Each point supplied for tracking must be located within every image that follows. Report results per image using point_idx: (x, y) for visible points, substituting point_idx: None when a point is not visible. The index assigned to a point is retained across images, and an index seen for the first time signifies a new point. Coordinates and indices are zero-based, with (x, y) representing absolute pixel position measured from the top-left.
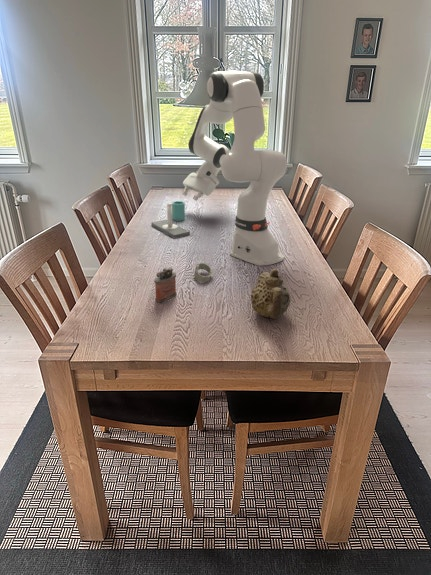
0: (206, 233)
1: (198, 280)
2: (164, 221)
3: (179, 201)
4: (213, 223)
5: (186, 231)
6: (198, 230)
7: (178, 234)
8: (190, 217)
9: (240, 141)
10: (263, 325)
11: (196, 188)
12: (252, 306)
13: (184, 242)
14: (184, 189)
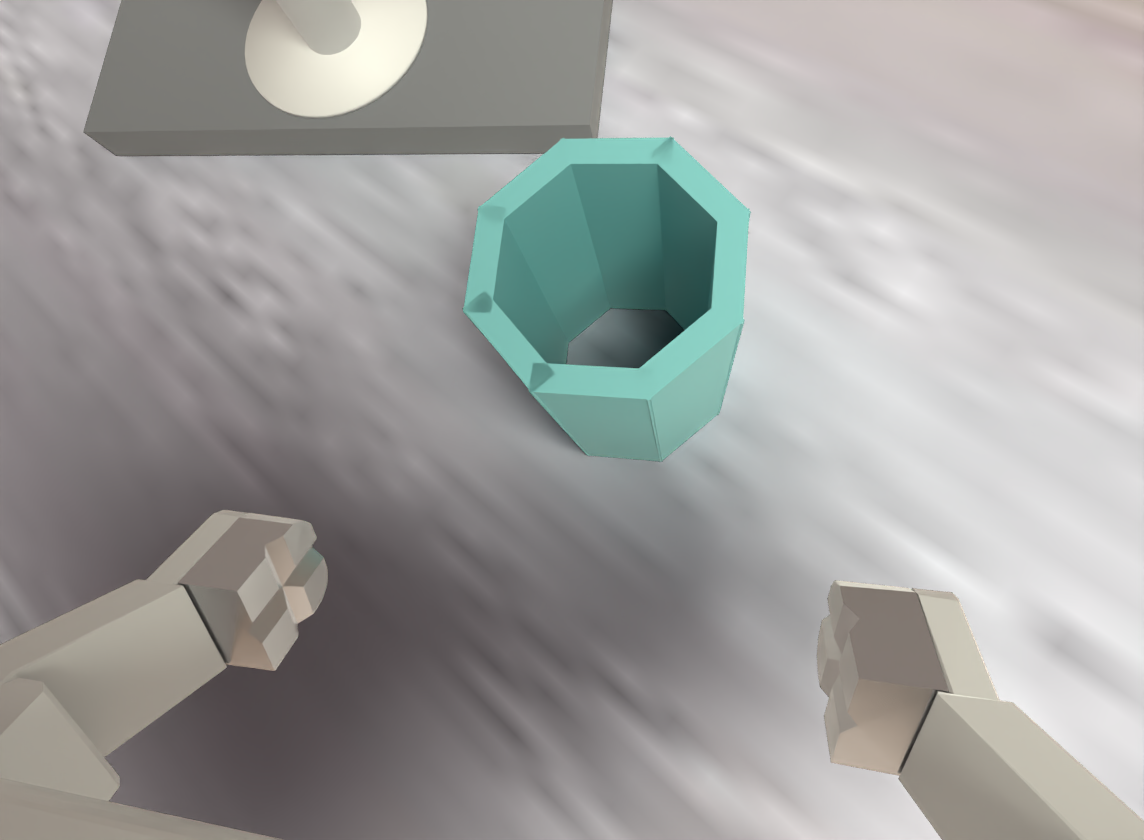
0: (24, 326)
1: None
2: (542, 69)
3: (679, 342)
4: None
5: (115, 110)
6: (141, 313)
7: (122, 7)
8: (580, 566)
9: None
10: None
11: (81, 820)
12: None
13: (36, 22)
14: (1072, 767)
